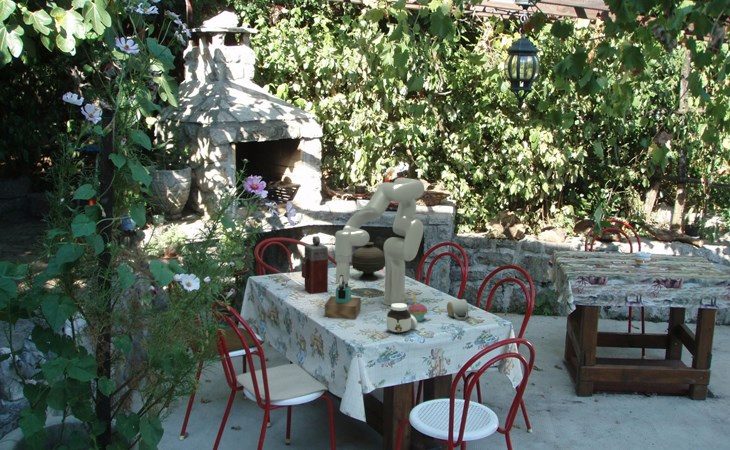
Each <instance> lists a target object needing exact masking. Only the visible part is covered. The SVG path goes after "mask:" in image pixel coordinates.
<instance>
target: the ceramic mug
mask: <svg viewBox="0 0 730 450" xmlns="http://www.w3.org/2000/svg"><path fill="white" fill-rule="evenodd" d="M446 312H447V314H448V316H449V317H451V318H454V319H456V320H458V321H465V320H467V318H468V315H469V305H468V301H467V300H466V299H464V298H461V299H457V300H451V301H449V302H447V304H446Z"/></svg>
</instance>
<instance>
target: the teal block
mask: <svg viewBox="0 0 730 450" xmlns="http://www.w3.org/2000/svg"><path fill="white" fill-rule="evenodd" d="M338 288H339V285H338V286H337V287H336V288H335V303H349V302H350V300H351V297H352V287H351V286H348V287H345V299H339V298H338Z"/></svg>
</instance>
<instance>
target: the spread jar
mask: <svg viewBox="0 0 730 450" xmlns="http://www.w3.org/2000/svg"><path fill="white" fill-rule="evenodd" d="M418 322H419V321H417V320H416V318H415V317H414V316H413V315H411V314H410V312H409V311H408V305H407V304H403V303H394V304H392V305H390V310H389V311H388V312H387V315H386V329H387V330H388V331H389V332H390V333H391V334H394V335H405V334H406V333H408V332H409V331H410V330H416V329H417V328H418V326H419V323H418Z"/></svg>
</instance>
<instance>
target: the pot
mask: <svg viewBox="0 0 730 450" xmlns="http://www.w3.org/2000/svg"><path fill="white" fill-rule="evenodd" d="M374 244H375V243H374V242H371V241H369V242H368V243H367V244H366V245H364V246H360V247H359V248H357V249H355V250H354V251H353V252H352V262H351V265H352V269H354V270H356V271H357V272H362V274H361V275H359V276H358V279H359V280H362V281H365V282H367V281H368V282H371V281H372V282H373V281H377V280H378V278H379V277H378V276H377V275H376V274H375V273H377V272H380V271H381V270H384V269H385V255H384V251H382V250H381V249H380V248H379V247H375V246H373V245H374Z"/></svg>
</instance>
